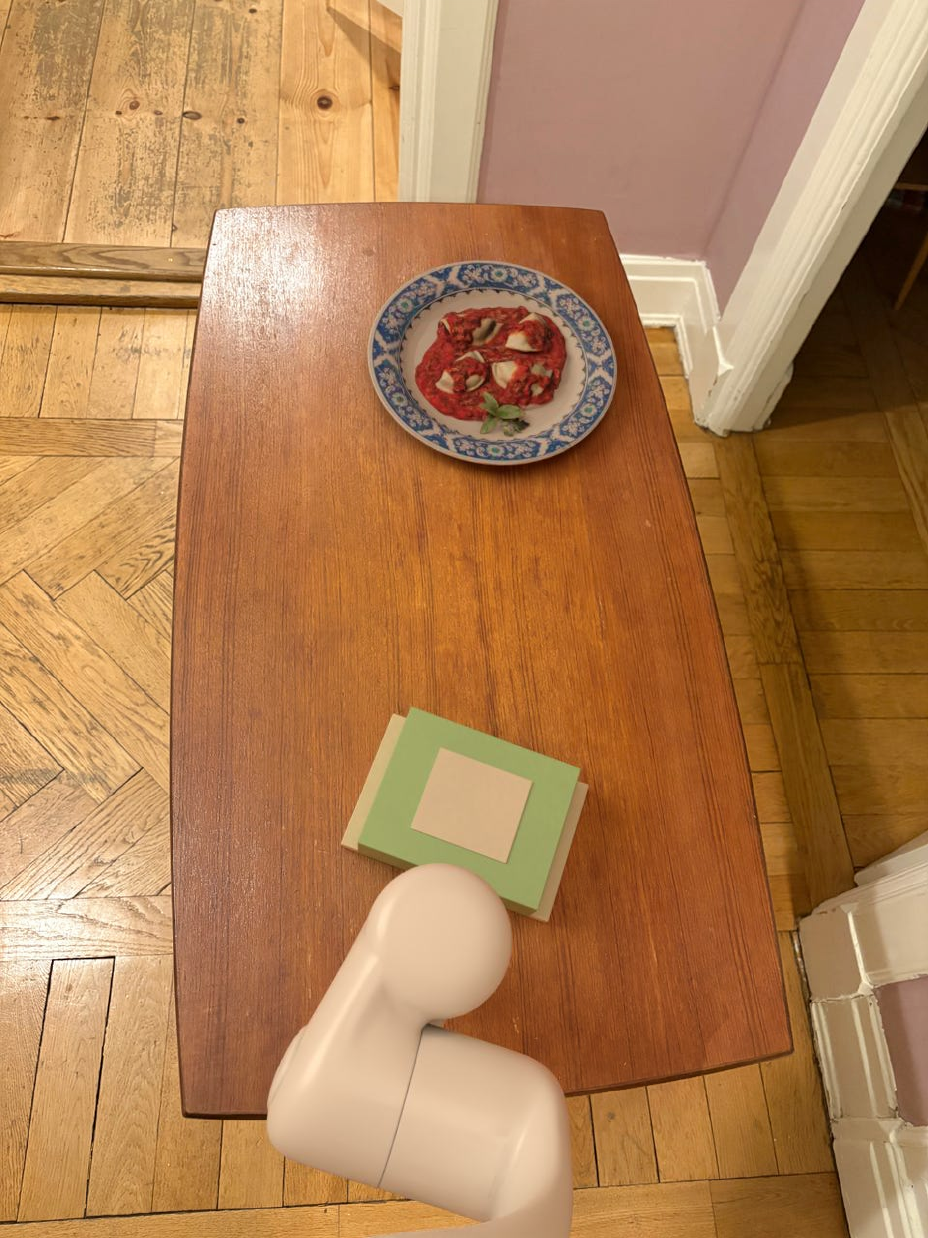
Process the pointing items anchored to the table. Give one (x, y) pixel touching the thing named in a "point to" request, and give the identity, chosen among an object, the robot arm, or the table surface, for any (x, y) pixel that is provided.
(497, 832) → the green block with label
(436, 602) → the table surface
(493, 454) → the ceramic plate
